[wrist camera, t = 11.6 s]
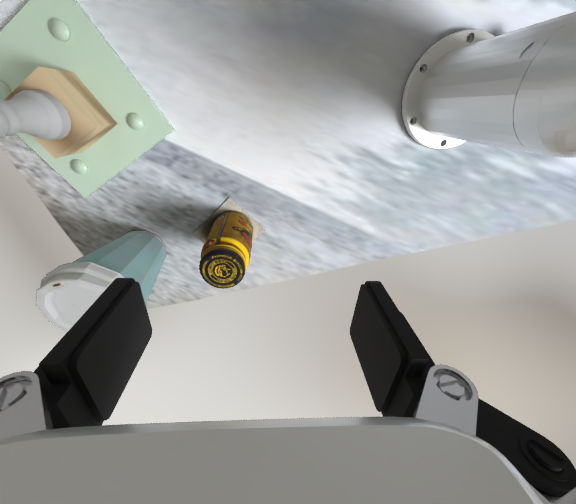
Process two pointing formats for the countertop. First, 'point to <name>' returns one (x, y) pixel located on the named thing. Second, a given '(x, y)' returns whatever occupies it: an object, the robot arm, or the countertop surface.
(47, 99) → the rook chess piece
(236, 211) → the condiment
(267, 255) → the countertop surface
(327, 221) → the countertop surface
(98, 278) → the disposable coffee cup
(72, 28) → the build plate
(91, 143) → the oak brick
